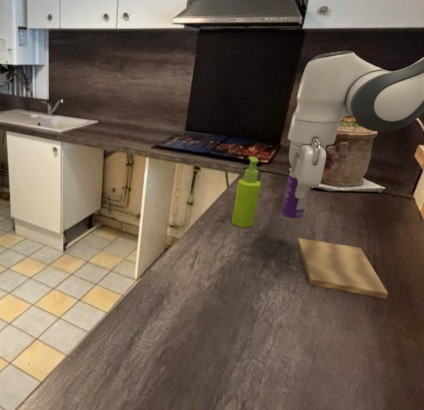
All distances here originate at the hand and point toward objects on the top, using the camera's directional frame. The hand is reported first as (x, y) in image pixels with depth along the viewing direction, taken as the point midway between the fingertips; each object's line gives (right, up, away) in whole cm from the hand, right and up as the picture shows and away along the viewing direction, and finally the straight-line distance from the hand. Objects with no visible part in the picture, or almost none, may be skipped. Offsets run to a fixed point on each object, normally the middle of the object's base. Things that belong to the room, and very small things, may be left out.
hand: (297, 192), depth 83 cm
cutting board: (+11, -18, +3) cm, 21 cm away
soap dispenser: (-2, -8, +26) cm, 27 cm away
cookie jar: (+48, +6, +58) cm, 76 cm away
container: (0, -6, +3) cm, 6 cm away
